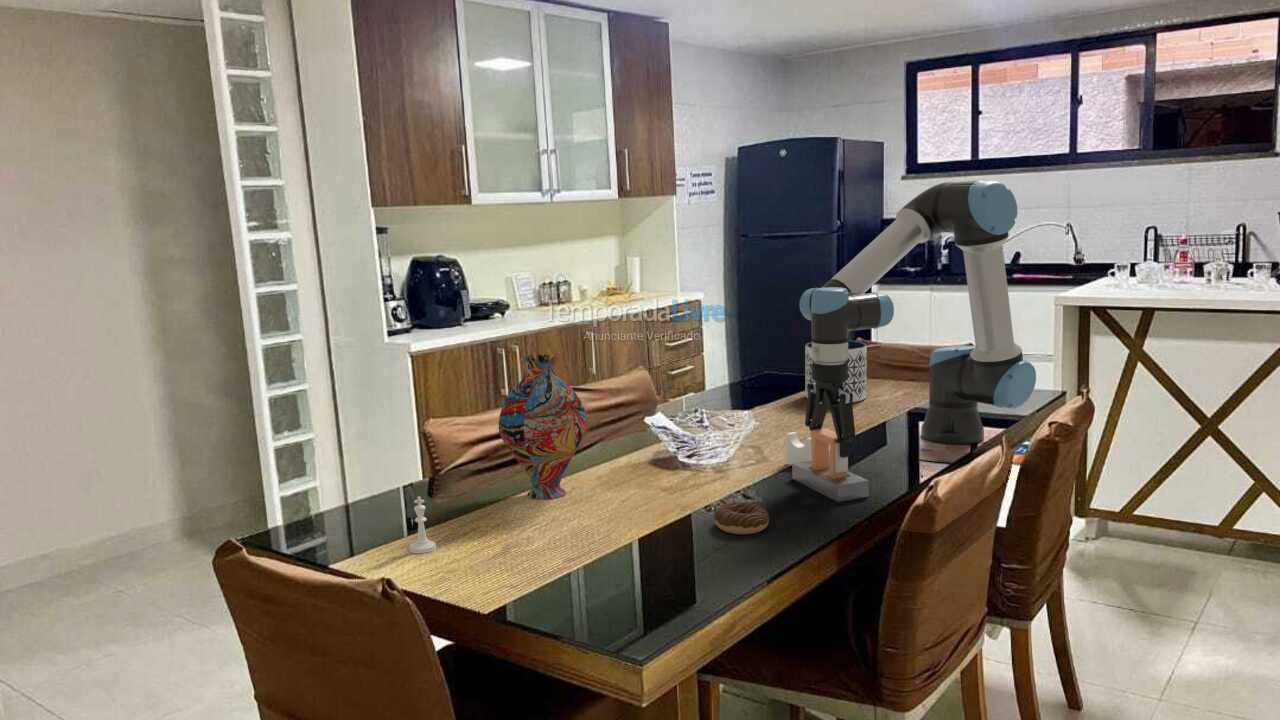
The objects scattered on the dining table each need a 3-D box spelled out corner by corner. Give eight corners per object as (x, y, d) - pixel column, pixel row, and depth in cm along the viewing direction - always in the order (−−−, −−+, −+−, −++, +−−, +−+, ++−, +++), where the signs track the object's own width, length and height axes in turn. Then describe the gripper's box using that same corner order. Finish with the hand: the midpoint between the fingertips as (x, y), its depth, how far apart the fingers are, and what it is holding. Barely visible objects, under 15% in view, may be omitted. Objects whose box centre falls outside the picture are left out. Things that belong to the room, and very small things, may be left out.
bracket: (810, 471, 218) (810, 439, 217) (786, 465, 224) (786, 433, 222) (845, 459, 226) (846, 428, 225) (822, 454, 232) (822, 423, 231)
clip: (825, 474, 210) (825, 428, 208) (847, 485, 202) (847, 436, 200) (811, 476, 208) (811, 430, 206) (833, 487, 201) (833, 438, 199)
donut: (711, 518, 189) (711, 499, 188) (765, 517, 189) (765, 497, 188) (716, 538, 178) (716, 518, 177) (773, 536, 178) (773, 516, 177)
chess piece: (411, 544, 180) (407, 493, 178) (437, 543, 180) (434, 492, 178) (407, 554, 175) (403, 501, 173) (434, 552, 175) (430, 500, 173)
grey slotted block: (821, 474, 215) (821, 459, 214) (868, 496, 198) (868, 480, 198) (792, 478, 212) (792, 463, 212) (837, 502, 196) (837, 485, 195)
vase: (603, 484, 213) (597, 351, 208) (569, 511, 195) (562, 367, 190) (526, 478, 219) (519, 349, 214) (487, 504, 201) (478, 364, 196)
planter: (872, 403, 282) (872, 348, 279) (810, 405, 282) (810, 350, 279) (859, 390, 300) (859, 339, 297) (801, 392, 300) (801, 340, 297)
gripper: (788, 355, 209) (788, 456, 213) (843, 371, 189) (842, 481, 193) (817, 352, 212) (817, 451, 216) (874, 368, 192) (873, 476, 196)
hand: (829, 465), depth 204 cm, fingers closed on clip, 8 cm apart
